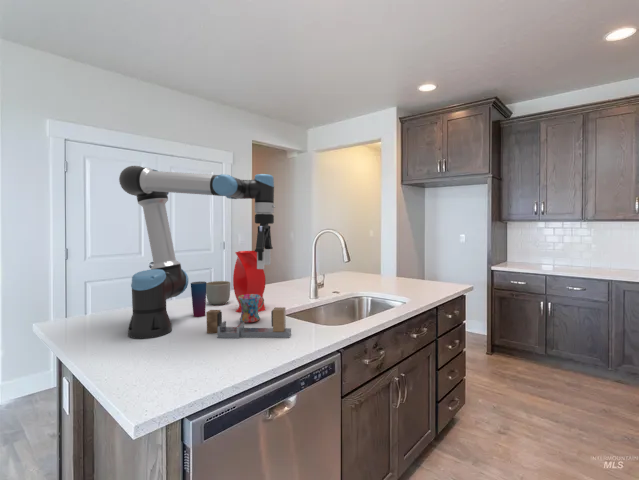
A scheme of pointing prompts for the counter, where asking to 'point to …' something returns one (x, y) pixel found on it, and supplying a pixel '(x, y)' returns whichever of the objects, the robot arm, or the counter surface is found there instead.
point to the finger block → (213, 320)
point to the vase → (248, 277)
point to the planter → (218, 292)
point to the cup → (198, 298)
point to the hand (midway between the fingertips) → (264, 266)
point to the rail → (240, 331)
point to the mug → (250, 307)
